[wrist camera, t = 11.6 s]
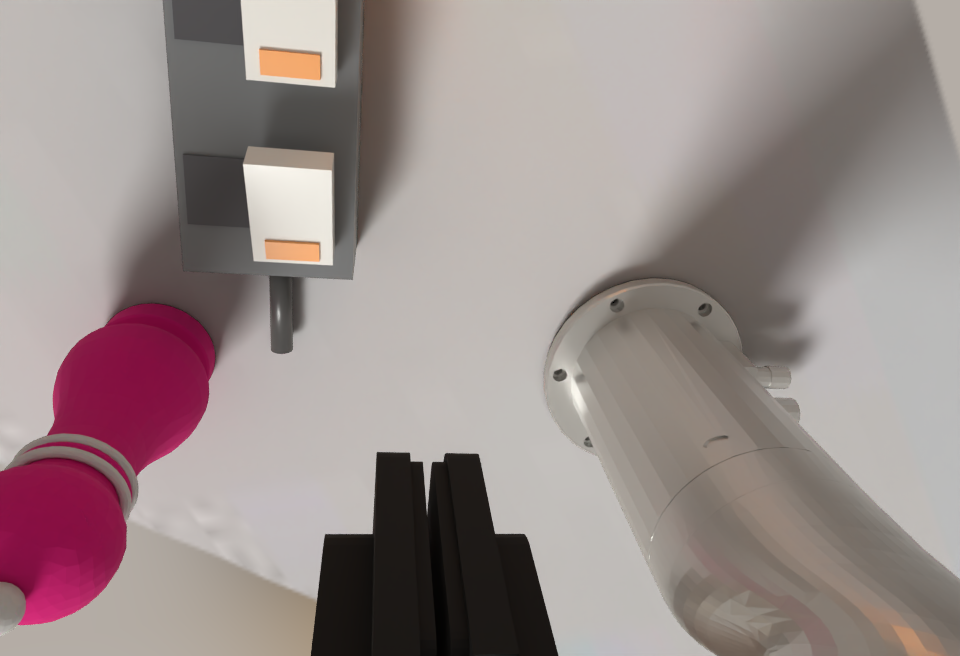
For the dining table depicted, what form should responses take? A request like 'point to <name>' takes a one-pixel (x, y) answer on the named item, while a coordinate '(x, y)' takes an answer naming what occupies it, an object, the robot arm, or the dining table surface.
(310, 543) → the dining table surface
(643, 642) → the dining table surface
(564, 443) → the dining table surface
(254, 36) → the block
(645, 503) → the robot arm
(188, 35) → the power strip
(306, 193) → the plate
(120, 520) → the pepper mill
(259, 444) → the dining table surface
